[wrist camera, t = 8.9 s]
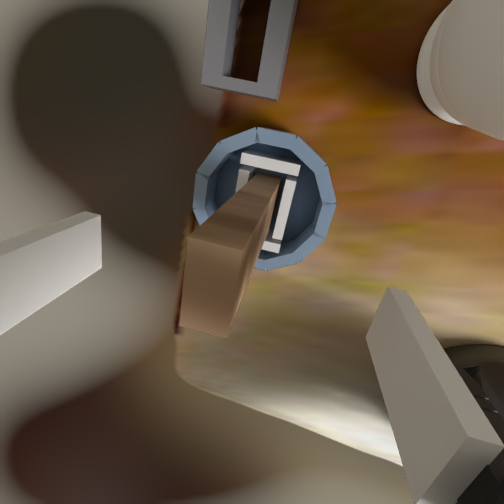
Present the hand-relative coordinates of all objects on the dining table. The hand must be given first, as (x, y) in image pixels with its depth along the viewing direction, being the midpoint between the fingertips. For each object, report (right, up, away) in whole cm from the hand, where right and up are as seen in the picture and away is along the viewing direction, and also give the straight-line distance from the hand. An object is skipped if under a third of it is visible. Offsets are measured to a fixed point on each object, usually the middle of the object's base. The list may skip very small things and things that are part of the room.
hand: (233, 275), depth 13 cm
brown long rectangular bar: (+2, +6, +12) cm, 14 cm away
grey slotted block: (+1, +17, +9) cm, 19 cm away
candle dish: (+2, +6, +13) cm, 15 cm away
